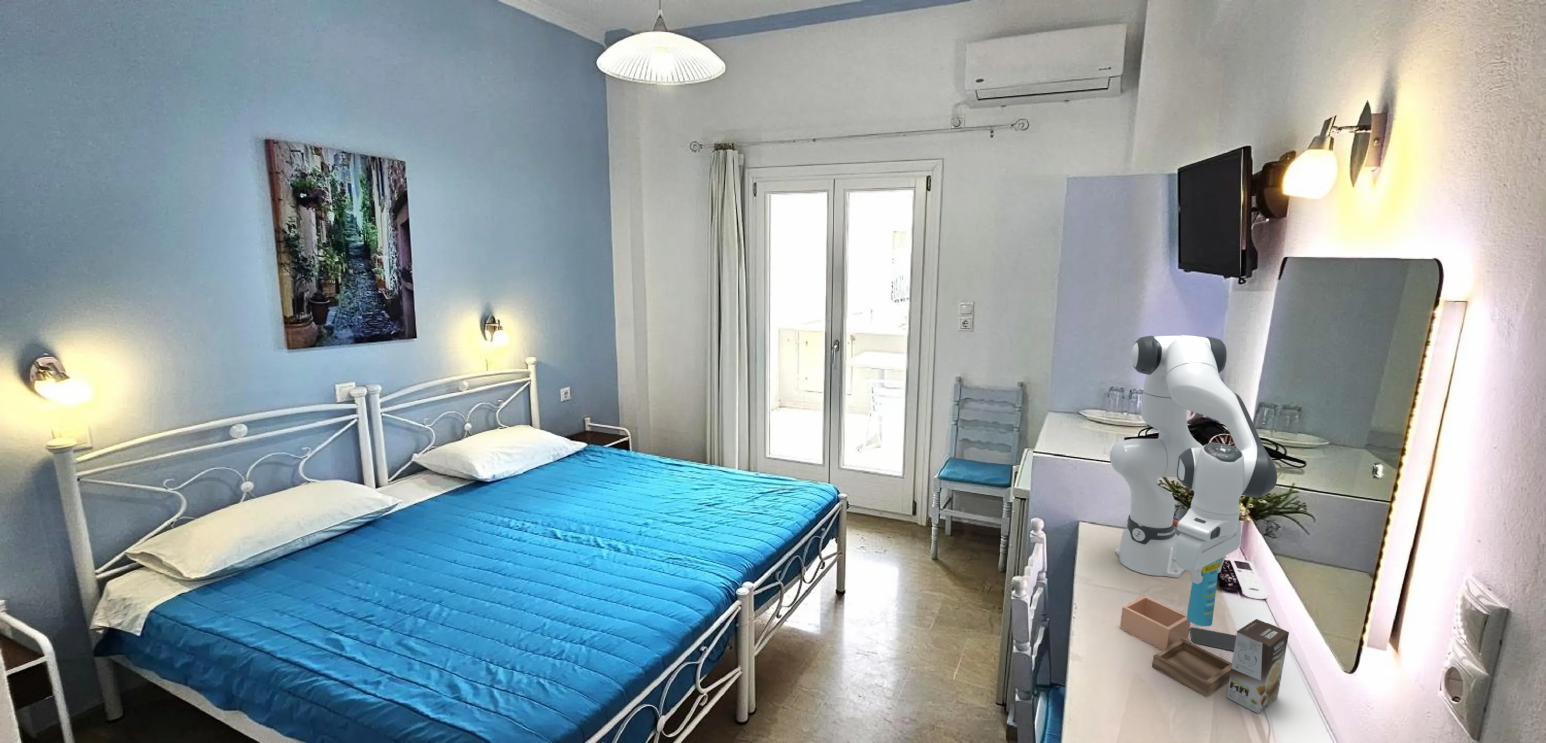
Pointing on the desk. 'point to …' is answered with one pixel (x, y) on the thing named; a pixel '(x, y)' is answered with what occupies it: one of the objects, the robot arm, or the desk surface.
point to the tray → (1193, 667)
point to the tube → (1203, 596)
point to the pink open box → (1154, 622)
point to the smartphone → (1213, 639)
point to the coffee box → (1257, 665)
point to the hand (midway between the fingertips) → (1205, 577)
